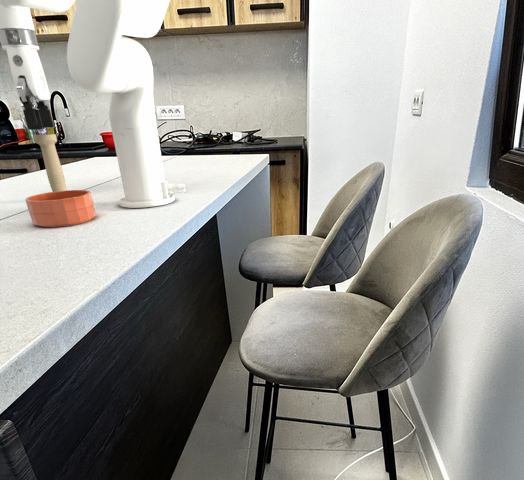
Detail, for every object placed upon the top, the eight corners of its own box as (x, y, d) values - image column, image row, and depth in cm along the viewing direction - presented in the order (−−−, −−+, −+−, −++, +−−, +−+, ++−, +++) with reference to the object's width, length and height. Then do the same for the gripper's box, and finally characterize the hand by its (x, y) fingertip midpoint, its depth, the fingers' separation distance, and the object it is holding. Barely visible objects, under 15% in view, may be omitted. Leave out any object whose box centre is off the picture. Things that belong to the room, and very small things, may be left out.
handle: (72, 196, 115) (56, 133, 107) (71, 200, 109) (53, 134, 102) (53, 198, 113) (35, 135, 106) (50, 202, 108) (31, 136, 101)
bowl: (100, 212, 93) (95, 188, 91) (90, 225, 82) (83, 198, 80) (43, 217, 92) (35, 192, 89) (24, 230, 81) (16, 203, 79)
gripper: (24, 35, 88) (48, 129, 96) (47, 46, 103) (66, 126, 111) (-15, 36, 87) (13, 131, 95) (14, 46, 102) (36, 127, 110)
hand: (41, 128), depth 103 cm, fingers open, 9 cm apart
